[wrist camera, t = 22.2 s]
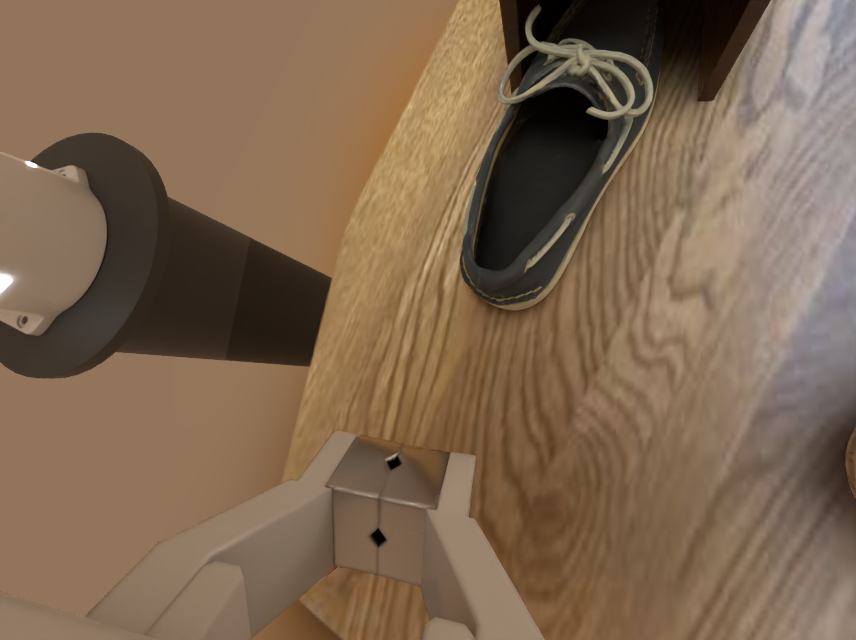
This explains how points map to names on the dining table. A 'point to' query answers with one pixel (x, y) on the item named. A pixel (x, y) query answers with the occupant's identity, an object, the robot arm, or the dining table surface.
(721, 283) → the dining table surface
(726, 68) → the dark wooden box
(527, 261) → the boat shoe
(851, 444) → the vase
